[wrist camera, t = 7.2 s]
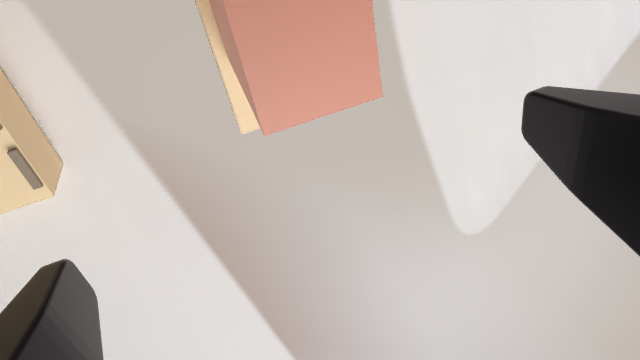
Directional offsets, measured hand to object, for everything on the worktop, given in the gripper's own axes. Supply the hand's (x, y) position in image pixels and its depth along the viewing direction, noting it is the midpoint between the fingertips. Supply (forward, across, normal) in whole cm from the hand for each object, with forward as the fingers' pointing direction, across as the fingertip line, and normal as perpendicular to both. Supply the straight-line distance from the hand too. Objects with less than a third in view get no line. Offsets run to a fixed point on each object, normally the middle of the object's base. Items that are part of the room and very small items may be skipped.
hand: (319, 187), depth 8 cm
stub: (+12, -1, -2) cm, 12 cm away
